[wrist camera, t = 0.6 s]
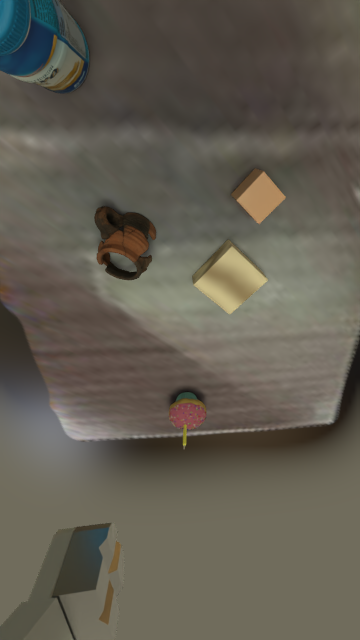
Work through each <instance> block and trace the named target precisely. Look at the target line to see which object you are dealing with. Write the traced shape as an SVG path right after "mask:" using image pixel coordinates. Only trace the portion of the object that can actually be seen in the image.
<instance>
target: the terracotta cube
mask: <svg viewBox="0 0 360 640" xmlns="http://www.w3.org/2000/svg"><path fill="white" fill-rule="evenodd" d="M231 196H232V197H233V198H234V199H235V200H236V201H237V202H238V203H239V204H240V205H241V206H242V207H243V208H244V209H245V211H246V212H247V213H248V214H249V215H250V216H251V217H252V218H253V219H254V220H255V221H256V222H257V223H258V224H260V223H261V222H262V221H263V220H264V219H265V218H266V217H267V216H268V215H269V214H270V213H271V212H272V211H273V210H274V209H275V208H276V207H277V206H278V205H279V204H280V203H281V202H282V201H283V200H284V199H285V198H286V197H285V196H284V195H283V194H282V192H281V191H280V190H279V189H278V188H277V186H276V185H275V184H274V183H273V182H272V180H271V179H270V178H269V177H268V176H267V175H266V173H265V172H264V171H261V170H258V169H256V168H255V169H254V170H253V171H252V172H251V173H250V174H249V175H248V176H247V178H246V179H245V180H244V181H243V182H242V183H241V184H240V185H239V186H238V187H237V188H236V189H235V190H234V192H233V193H232V194H231Z"/></svg>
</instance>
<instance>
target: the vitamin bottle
mask: <svg viewBox="0 0 360 640" xmlns="http://www.w3.org/2000/svg"><path fill="white" fill-rule="evenodd" d="M88 68H89V50H88V45H87V42H86V39H85V36H84V34H83V32H82V30H81V28H80V27H79V25H78V24H77V22H76V21H75V20H74V19H73V18H72V16H71V15H70V14H69V13H68V12H67V11H66V9H65V8H64V7H63V5H62V4H61V3H60V2H59V0H0V70H1V71H3V72H5V73H7V74H9V75H11V76H12V77H14V78H16V79H18V80H21V81H24V82H28V83H35V84H38V85H40V86H43V87H44V88H46V89H48V90H50V91H53V92H56V93H69V92H72V91H74V90H76V89H77V88H78V87H79V86H80V85H81V84H82V83H83V81H84V80H85V78H86V75H87V72H88Z"/></svg>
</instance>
